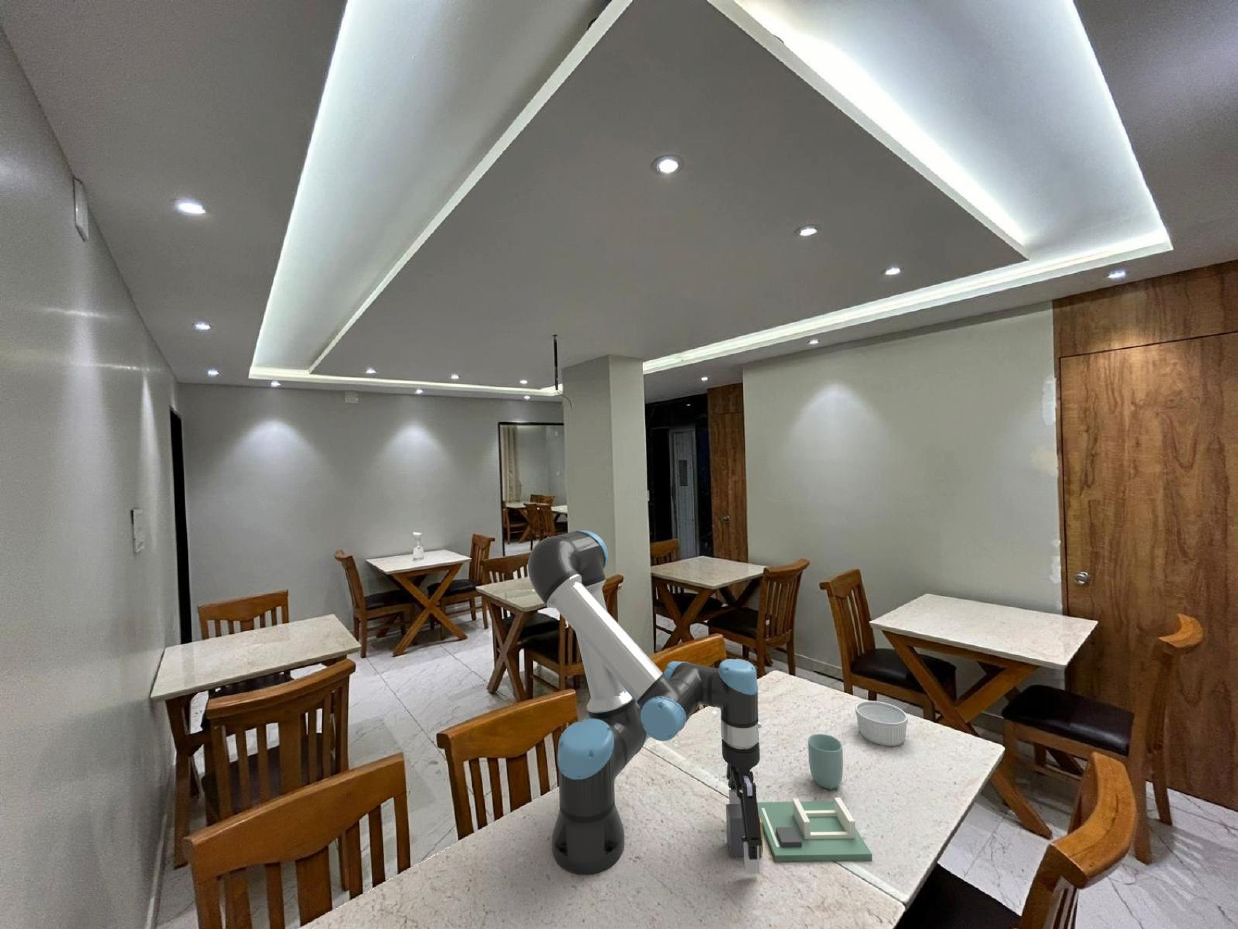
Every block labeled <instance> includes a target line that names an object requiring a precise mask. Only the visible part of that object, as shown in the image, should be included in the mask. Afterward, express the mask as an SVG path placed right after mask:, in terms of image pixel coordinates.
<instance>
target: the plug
mask: <svg viewBox="0 0 1238 929" xmlns="http://www.w3.org/2000/svg"><path fill="white" fill-rule="evenodd" d="M725 815H726V816H725V818H726V844H727V848H728V852H729V855H730V858H731V859H744V842H742V840H741V838H743V836H745V833H744V826H743V819H742V812H741V805H740V804H729V803H726V804H725ZM759 822H760V831H761V839H762V846H759V859H761V858H762V853H764V840H763V839H764V837H763V834H764V833H763V827H762V821H761V818H760V815H759Z"/></svg>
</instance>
